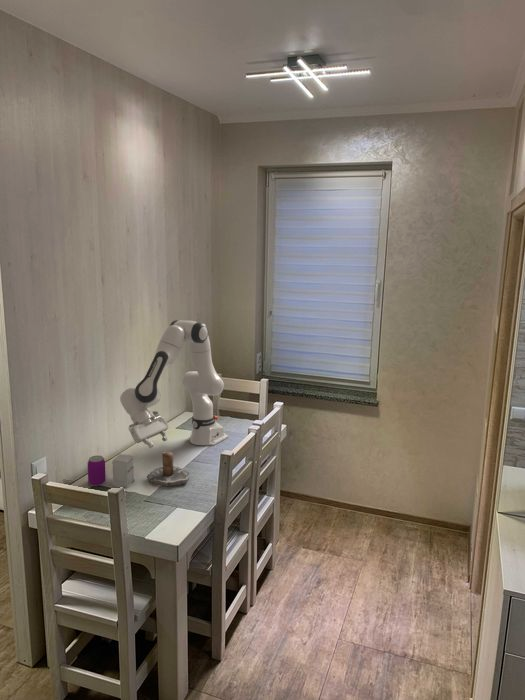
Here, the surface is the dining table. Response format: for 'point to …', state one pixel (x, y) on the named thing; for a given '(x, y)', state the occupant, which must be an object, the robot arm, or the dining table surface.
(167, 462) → the walnut pepper mill
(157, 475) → the brain slice
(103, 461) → the beverage can
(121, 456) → the supplement box
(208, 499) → the dining table surface
